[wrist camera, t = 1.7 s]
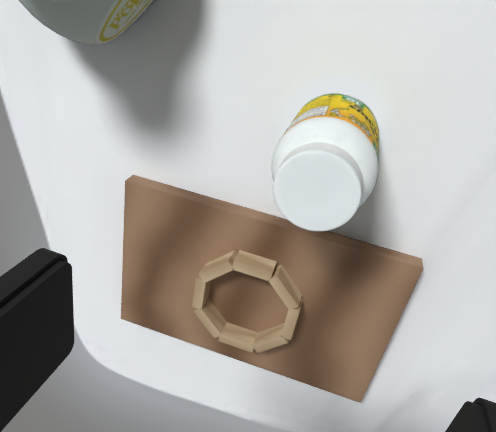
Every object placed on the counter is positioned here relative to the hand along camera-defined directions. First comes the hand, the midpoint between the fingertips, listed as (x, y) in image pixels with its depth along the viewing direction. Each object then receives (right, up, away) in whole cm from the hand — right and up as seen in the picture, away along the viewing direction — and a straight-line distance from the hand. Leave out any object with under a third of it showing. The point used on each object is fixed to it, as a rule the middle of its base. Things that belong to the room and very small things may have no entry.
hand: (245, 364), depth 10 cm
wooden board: (0, -2, +25) cm, 25 cm away
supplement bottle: (+6, +9, +18) cm, 21 cm away
